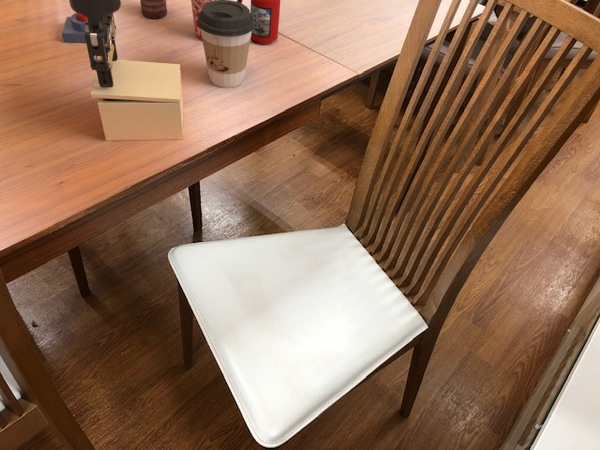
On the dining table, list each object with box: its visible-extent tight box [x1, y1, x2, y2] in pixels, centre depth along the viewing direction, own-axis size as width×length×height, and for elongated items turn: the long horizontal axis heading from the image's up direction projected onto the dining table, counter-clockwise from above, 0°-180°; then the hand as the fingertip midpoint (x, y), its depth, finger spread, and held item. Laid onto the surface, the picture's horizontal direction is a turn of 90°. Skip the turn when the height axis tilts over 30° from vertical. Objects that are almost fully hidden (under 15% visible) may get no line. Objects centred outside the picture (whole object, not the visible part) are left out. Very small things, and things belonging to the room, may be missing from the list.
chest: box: [97, 72, 184, 142], centre depth 93 cm, size 14×12×8 cm
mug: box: [190, 0, 244, 42], centre depth 117 cm, size 13×9×14 cm
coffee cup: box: [197, 0, 255, 89], centre depth 103 cm, size 11×11×15 cm
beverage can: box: [250, 0, 281, 45], centre depth 118 cm, size 7×7×12 cm
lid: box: [90, 44, 181, 103], centre depth 88 cm, size 14×12×6 cm
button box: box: [61, 12, 86, 44], centre depth 115 cm, size 10×8×4 cm
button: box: [75, 12, 87, 22], centre depth 113 cm, size 4×4×2 cm
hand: (109, 72), depth 88 cm, fingers open, 8 cm apart
